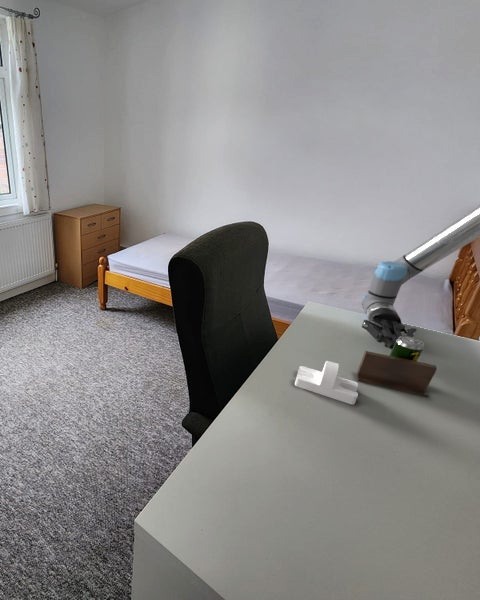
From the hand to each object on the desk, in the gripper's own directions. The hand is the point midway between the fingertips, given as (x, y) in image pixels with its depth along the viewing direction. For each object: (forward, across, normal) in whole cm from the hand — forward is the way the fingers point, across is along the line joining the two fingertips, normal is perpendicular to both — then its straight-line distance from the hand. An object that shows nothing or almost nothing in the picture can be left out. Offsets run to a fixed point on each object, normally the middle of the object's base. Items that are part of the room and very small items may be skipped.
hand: (401, 354), depth 93 cm
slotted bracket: (+17, +17, -6) cm, 25 cm away
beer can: (+3, 0, -6) cm, 7 cm away
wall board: (+7, +2, -6) cm, 9 cm away
